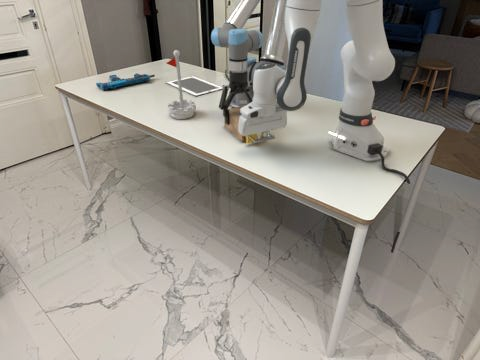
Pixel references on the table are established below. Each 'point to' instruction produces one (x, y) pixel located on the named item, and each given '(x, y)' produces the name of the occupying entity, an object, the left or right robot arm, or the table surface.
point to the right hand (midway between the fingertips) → (262, 140)
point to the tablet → (195, 86)
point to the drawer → (255, 139)
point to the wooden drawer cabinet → (234, 123)
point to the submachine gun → (123, 81)
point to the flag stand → (180, 95)
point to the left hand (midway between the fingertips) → (238, 121)
